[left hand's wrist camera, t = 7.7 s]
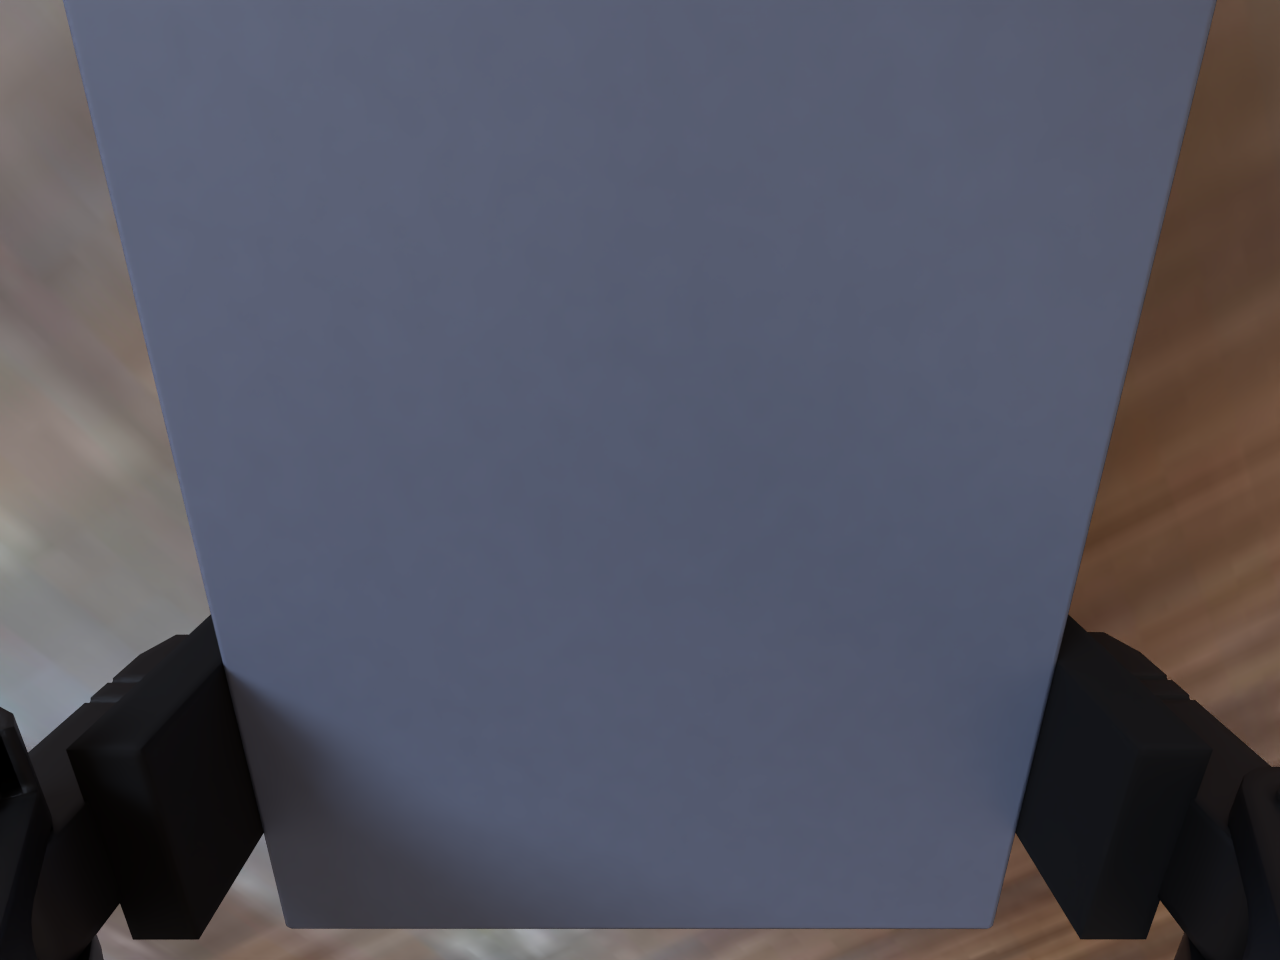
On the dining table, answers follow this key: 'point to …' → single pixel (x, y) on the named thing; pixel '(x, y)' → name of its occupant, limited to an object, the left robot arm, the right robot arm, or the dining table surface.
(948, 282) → the cabinet
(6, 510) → the dining table surface
